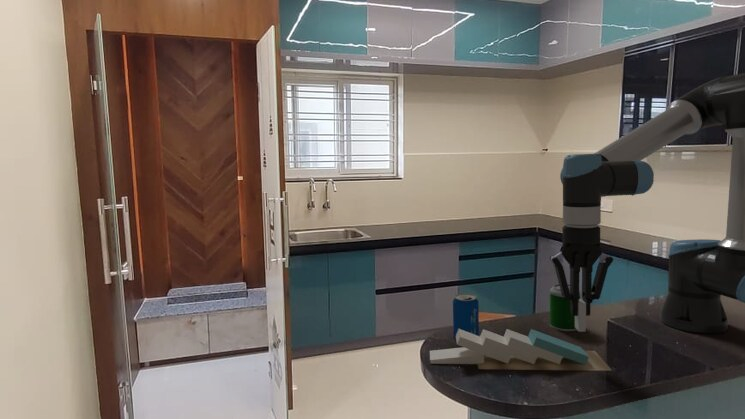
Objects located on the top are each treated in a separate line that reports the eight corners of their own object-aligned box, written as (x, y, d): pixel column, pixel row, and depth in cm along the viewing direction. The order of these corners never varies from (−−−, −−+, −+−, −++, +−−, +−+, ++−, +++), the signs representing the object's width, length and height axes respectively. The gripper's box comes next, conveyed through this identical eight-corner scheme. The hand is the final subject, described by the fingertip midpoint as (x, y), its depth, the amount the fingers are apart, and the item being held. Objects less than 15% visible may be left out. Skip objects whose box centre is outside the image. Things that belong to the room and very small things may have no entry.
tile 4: (507, 346, 106) (458, 328, 107) (511, 355, 101) (460, 336, 102) (504, 354, 106) (455, 336, 107) (508, 363, 101) (457, 344, 102)
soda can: (583, 336, 118) (583, 291, 117) (552, 334, 120) (552, 290, 118) (576, 325, 126) (576, 283, 124) (547, 324, 127) (547, 282, 126)
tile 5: (480, 345, 107) (429, 350, 108) (483, 354, 102) (430, 360, 103) (481, 353, 107) (430, 358, 108) (484, 363, 102) (431, 368, 104)
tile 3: (532, 347, 106) (482, 329, 106) (537, 356, 101) (485, 337, 101) (528, 354, 106) (479, 336, 107) (534, 364, 101) (482, 345, 102)
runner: (594, 355, 107) (594, 350, 107) (612, 375, 97) (612, 370, 97) (473, 354, 110) (473, 349, 110) (478, 374, 100) (478, 368, 100)
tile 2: (556, 347, 105) (506, 328, 106) (562, 356, 100) (510, 337, 101) (553, 354, 105) (503, 336, 106) (559, 364, 100) (507, 345, 101)
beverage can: (464, 348, 114) (463, 302, 112) (448, 340, 119) (447, 295, 118) (484, 342, 116) (483, 297, 115) (468, 334, 122) (467, 291, 121)
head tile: (581, 347, 104) (531, 328, 105) (589, 356, 99) (536, 337, 100) (577, 355, 105) (527, 336, 105) (585, 364, 100) (533, 345, 100)
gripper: (605, 221, 102) (604, 323, 104) (545, 223, 103) (545, 323, 106) (620, 226, 94) (617, 335, 97) (555, 228, 96) (554, 335, 98)
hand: (580, 329), depth 101 cm, fingers closed
